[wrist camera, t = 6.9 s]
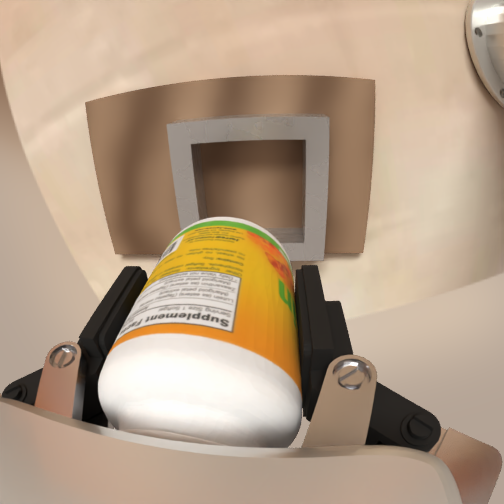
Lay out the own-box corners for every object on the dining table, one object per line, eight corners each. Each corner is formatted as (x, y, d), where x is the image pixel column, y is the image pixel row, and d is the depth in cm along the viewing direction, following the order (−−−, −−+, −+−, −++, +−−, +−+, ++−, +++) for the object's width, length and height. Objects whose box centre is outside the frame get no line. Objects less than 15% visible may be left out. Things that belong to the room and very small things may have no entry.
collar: (323, 113, 20) (329, 117, 18) (319, 244, 25) (323, 260, 23) (177, 120, 21) (166, 124, 19) (193, 245, 26) (186, 261, 24)
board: (371, 80, 19) (375, 80, 18) (360, 246, 26) (363, 252, 25) (91, 101, 21) (85, 102, 20) (119, 248, 28) (115, 254, 27)
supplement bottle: (293, 318, 14) (300, 537, 6) (180, 321, 15) (121, 516, 6) (290, 208, 11) (316, 497, 3) (152, 218, 12) (8, 437, 4)
